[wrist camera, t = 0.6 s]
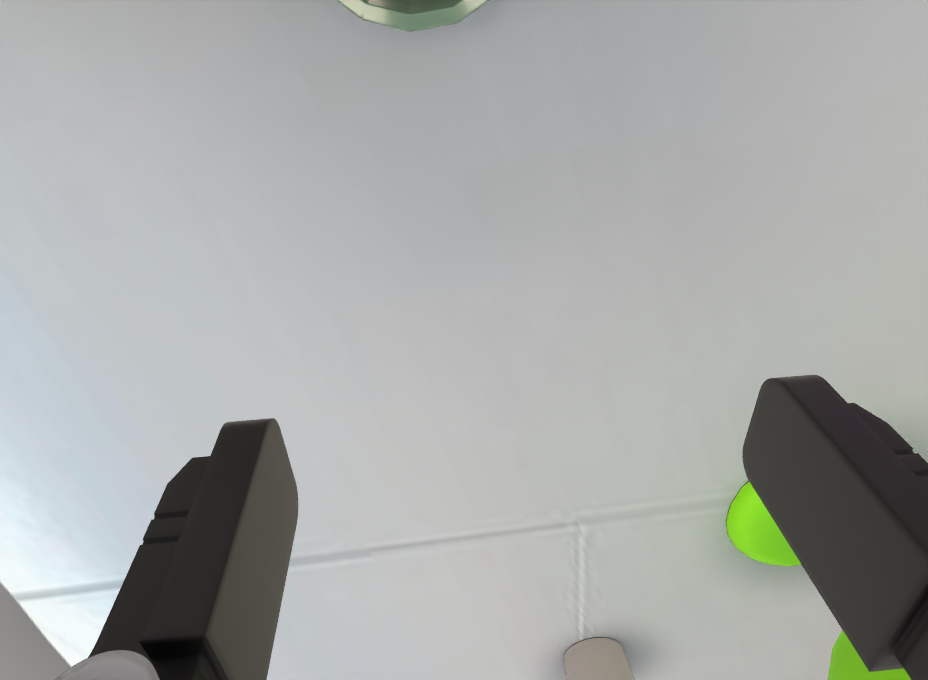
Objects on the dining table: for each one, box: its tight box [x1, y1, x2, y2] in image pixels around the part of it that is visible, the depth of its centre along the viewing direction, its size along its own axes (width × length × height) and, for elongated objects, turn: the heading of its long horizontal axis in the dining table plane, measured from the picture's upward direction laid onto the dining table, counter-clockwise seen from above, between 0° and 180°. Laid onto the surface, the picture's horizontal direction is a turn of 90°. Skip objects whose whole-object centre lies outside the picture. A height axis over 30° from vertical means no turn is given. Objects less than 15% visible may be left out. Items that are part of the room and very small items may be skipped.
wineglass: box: [726, 482, 911, 680], centre depth 46 cm, size 16×16×18 cm
